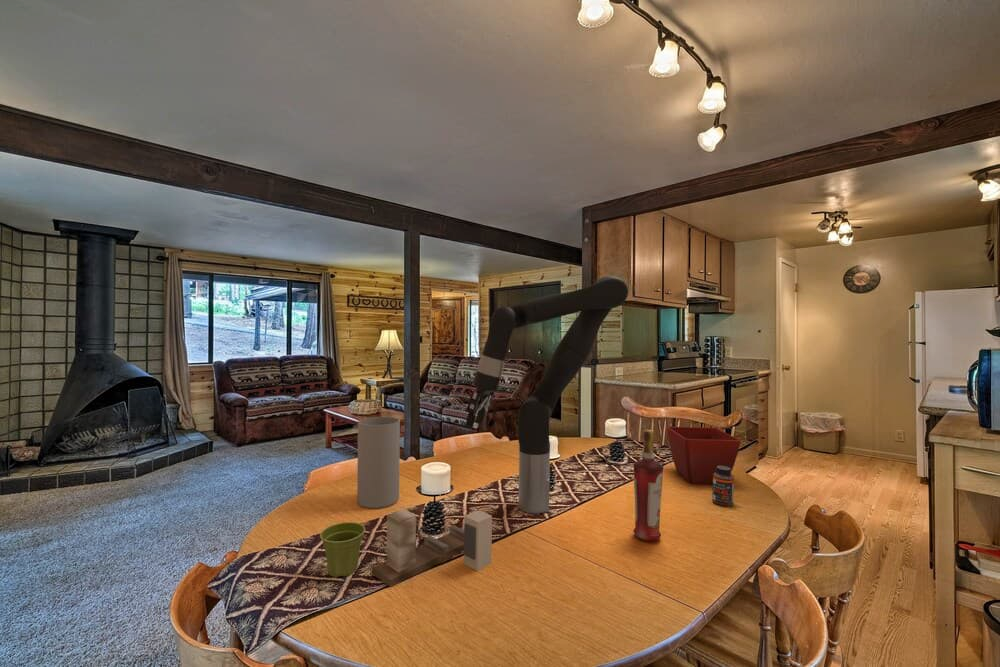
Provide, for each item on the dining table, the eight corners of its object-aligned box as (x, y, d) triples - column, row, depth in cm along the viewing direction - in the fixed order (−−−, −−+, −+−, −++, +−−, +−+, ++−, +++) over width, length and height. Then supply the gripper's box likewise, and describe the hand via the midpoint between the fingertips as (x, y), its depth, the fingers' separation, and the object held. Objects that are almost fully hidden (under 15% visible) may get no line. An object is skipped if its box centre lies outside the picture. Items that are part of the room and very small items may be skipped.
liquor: (640, 528, 119) (642, 426, 119) (666, 538, 114) (668, 431, 114) (627, 537, 114) (629, 430, 114) (653, 547, 109) (655, 435, 109)
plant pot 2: (740, 488, 151) (742, 440, 151) (685, 487, 151) (686, 439, 151) (714, 470, 170) (715, 427, 170) (665, 469, 170) (665, 426, 170)
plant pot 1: (338, 587, 91) (339, 546, 91) (310, 573, 96) (311, 534, 96) (373, 566, 99) (374, 528, 99) (346, 554, 104) (346, 518, 104)
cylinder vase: (407, 501, 136) (407, 421, 136) (371, 513, 127) (371, 427, 127) (384, 490, 145) (385, 415, 144) (349, 501, 135) (350, 420, 135)
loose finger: (477, 556, 104) (478, 510, 104) (491, 563, 101) (492, 515, 101) (461, 564, 100) (462, 516, 100) (475, 572, 97) (476, 522, 97)
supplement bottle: (712, 505, 136) (713, 469, 136) (711, 498, 142) (712, 463, 142) (734, 508, 134) (735, 471, 134) (732, 501, 140) (733, 466, 139)
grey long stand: (454, 536, 114) (455, 488, 113) (473, 545, 109) (474, 495, 109) (372, 574, 96) (372, 517, 96) (390, 587, 91) (391, 527, 91)
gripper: (493, 376, 121) (477, 432, 121) (507, 376, 135) (492, 426, 135) (469, 368, 124) (453, 424, 124) (485, 368, 137) (471, 418, 137)
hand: (473, 425), depth 129 cm, fingers open, 8 cm apart
